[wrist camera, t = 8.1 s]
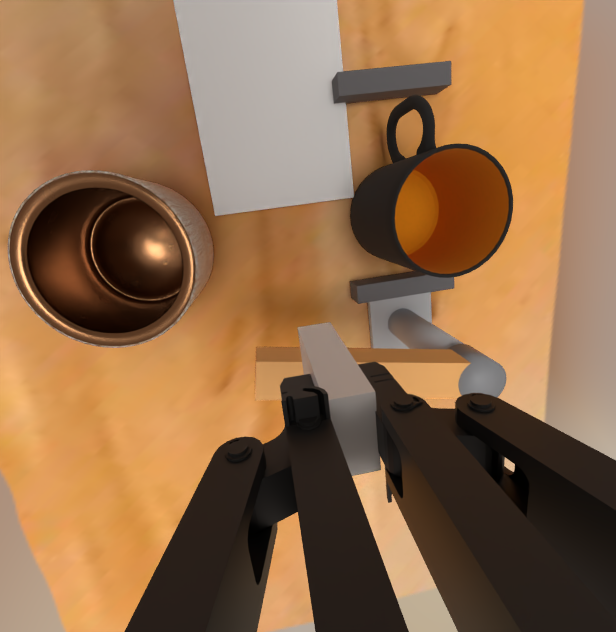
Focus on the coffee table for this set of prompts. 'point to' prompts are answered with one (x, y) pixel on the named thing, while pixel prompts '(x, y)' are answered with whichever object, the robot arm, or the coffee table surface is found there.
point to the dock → (412, 287)
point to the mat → (267, 101)
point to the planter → (109, 257)
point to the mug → (433, 203)
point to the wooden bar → (395, 370)
